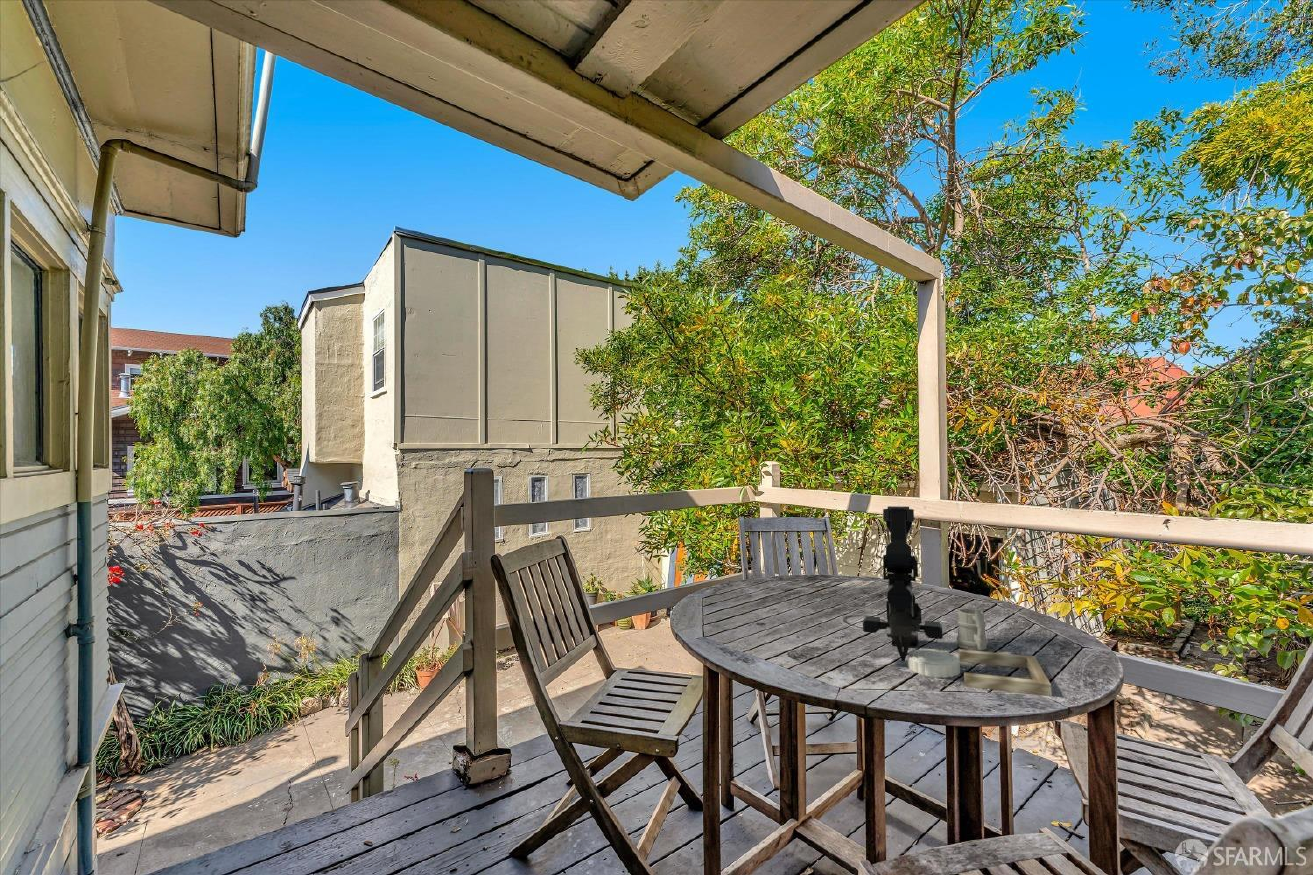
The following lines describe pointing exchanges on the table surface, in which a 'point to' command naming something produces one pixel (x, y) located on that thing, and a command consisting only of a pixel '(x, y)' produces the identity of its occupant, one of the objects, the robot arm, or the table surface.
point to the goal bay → (1035, 686)
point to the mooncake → (933, 663)
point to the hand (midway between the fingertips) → (903, 660)
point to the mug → (971, 629)
